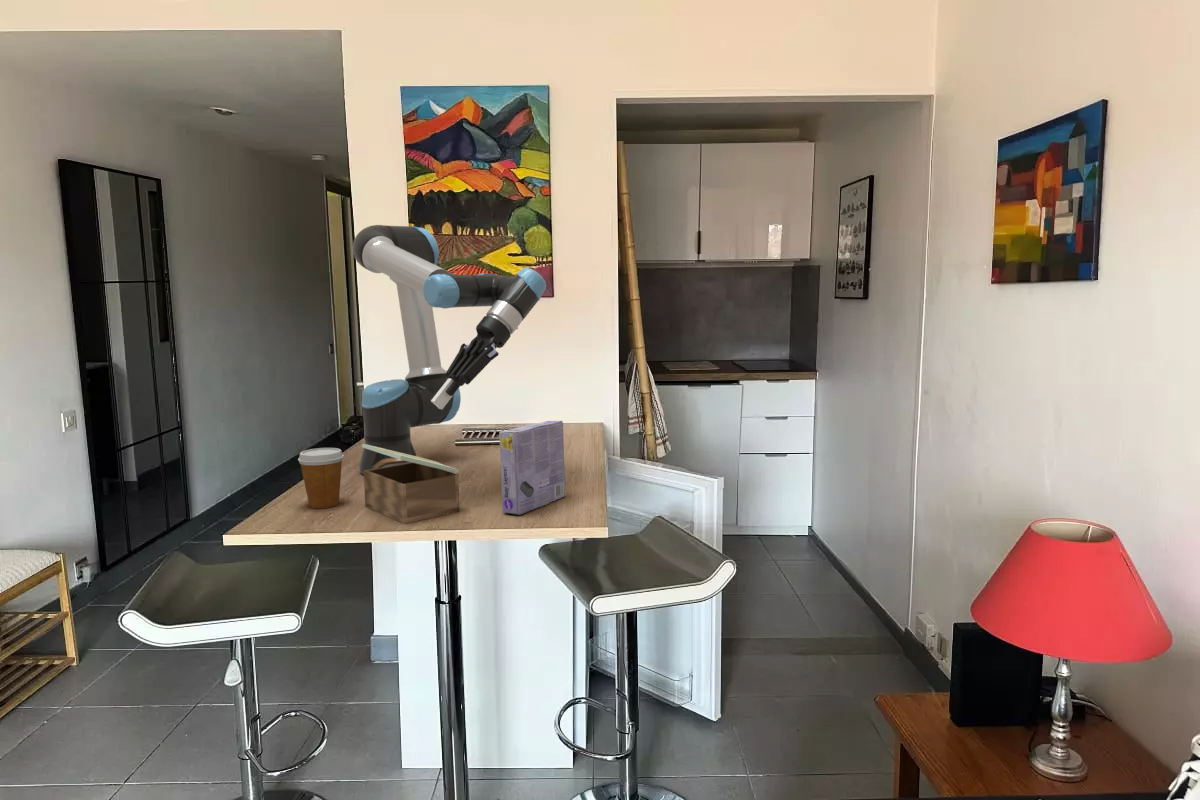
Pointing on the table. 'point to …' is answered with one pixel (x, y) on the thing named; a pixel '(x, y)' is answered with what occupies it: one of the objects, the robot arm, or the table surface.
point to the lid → (410, 458)
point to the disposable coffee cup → (322, 476)
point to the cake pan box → (532, 466)
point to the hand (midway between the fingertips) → (436, 405)
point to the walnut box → (411, 491)
